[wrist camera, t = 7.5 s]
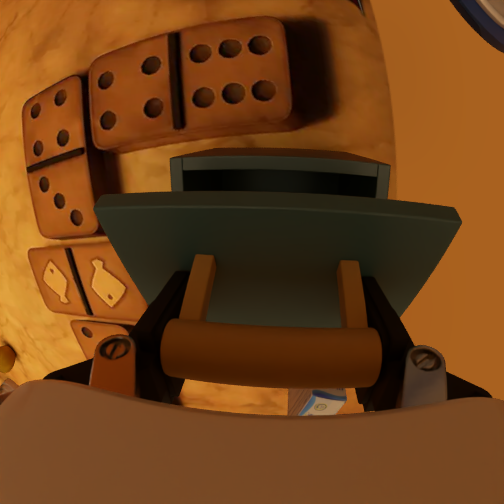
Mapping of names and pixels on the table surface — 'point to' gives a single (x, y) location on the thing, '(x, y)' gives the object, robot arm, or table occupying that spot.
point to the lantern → (8, 386)
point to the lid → (275, 278)
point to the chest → (280, 172)
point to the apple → (6, 359)
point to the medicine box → (315, 401)
